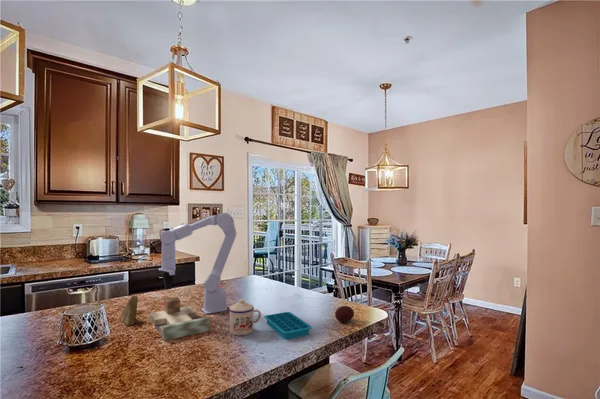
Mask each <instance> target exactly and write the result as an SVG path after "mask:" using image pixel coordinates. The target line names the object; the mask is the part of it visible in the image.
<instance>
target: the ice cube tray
mask: <svg viewBox="0 0 600 399" xmlns="http://www.w3.org/2000/svg"><path fill="white" fill-rule="evenodd" d="M263 318H264V319H266V325H268V326H269V327H270V328H271V329H272V330H273V331H274V332H275V333H276V334H278V335H279V336H280V337H281V338H283V339H284V340H291V339H294V338H299V337H304V336H308V335H309V334H310V330H311V329H313V326H312V325H310V324H308V323H307V322H306V321H304V320H302V319H301V318H300V317H298V316H297V315H295V314H294V313H292V312H291V311H285V312H279V313H273V314H267V315H264V316H263Z"/></svg>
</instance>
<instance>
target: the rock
mask: <svg viewBox="0 0 600 399" xmlns="http://www.w3.org/2000/svg"><path fill="white" fill-rule="evenodd" d="M138 300H139V297H138V296H137V295H135V294H134V295H132V296H130V299H129V300H128V302H127V303H126V305H125V306H124V308H123V310H122V313H121V318H120V321H121V322H122V323H124V324H125V325H127V326H132V325H135V322H136V317H137V311H138Z"/></svg>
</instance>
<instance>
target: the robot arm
mask: <svg viewBox="0 0 600 399" xmlns="http://www.w3.org/2000/svg"><path fill="white" fill-rule="evenodd" d="M207 226H218V227H219V228H220V229H221V230H222V232H223V234H224V238H223V241H222V243H221V245H220V249H219V251H218V253H217V255H216V259H215V261H214V263H213V266H212V269H211V271H210V274H209V275H208V276H207V278H206V279H205V281H204V283H203V288H204V291H203V297H204V298H203V307H202V308H200V310H201V311H203V313H205V314H206V315H210V314H213V313H219V312H225V311H227V310H228V307H227V303H228V302H227V301H228V300H227V298H228V297H227V296H228V295H227V292H226V289H224V288H221V287H220V285H221V281H222V280H221V277H222V273H223V270H224V268H225V265H226V263H227V260H228V257H229V256H230V252H231V249H232V247H233V245H234V242H235V240H236V237H237V228H236V225H235V221H234V218H233V217H232V215H231V214H229V213H228V212H223V213H222V212H221V213H219V214H214V215H210V216H208V217H205V218H203V219H201V220H198V221H196V222H194V223H191V224H190V223H185V222H182V223H180V225H178V226H175V227H171V228H170V230H165V231H163V232H162V233H161V234H160V236H159V240H160V242H161V265H160V266H161V267H159V268H158V271H162V272H161V273H160V275H161V277H162V280H163V282H164V284H163V285H164V288H165V290H171V289H172V286H173V282H174V279H175V276H176V275H177V273H176V241H180V240H183V239H185V238H187V237H190V236H192V234H193V233H194V231H196V230H200V229H202V228H204V227H207Z"/></svg>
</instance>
